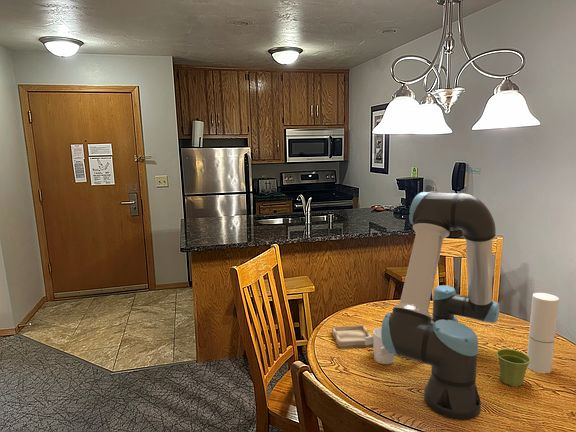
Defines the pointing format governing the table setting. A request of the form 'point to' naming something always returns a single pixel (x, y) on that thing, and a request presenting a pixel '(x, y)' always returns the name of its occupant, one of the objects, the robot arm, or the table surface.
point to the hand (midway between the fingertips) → (373, 346)
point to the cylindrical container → (542, 332)
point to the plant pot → (512, 366)
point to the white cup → (377, 345)
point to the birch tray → (351, 336)
